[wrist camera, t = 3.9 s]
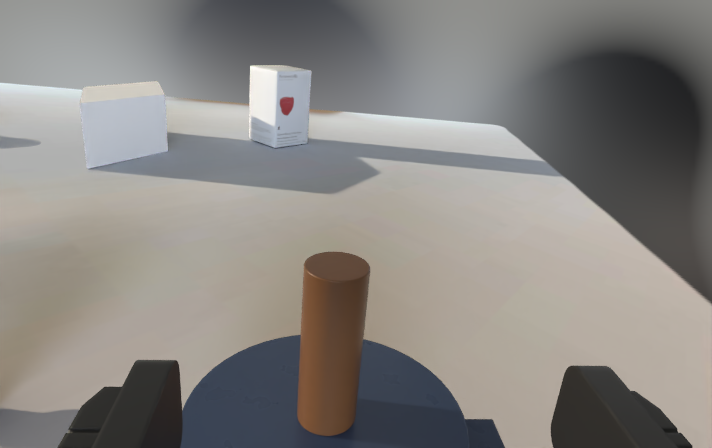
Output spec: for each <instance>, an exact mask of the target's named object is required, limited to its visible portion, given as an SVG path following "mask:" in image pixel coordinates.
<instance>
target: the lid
mask: <svg viewBox="0 0 712 448" xmlns="http://www.w3.org/2000/svg"><path fill="white" fill-rule="evenodd" d="M369 277H370V266H369V264H368V263H367V262H366V261H365V260H364V259H362V258H360V257H358V256H356V255H352V254H349V253H343V252H324V253H319V254H315V255H313V256H311V257H309V258H308V259H307V260H306V261H305V263H304V277H303V298H302V319H301V335H296V336H289V337H283V338H278V339H274V340H270V341H266V342H263V343H260V344H257V345H254V346H251V347H249V348H247V349H245V350H242V351H240V352H238V353H236V354H234V355H233V356H231V357H229V358H228V359H226V360H224V361H223V362H222V363H220V364H219V365H217V366H216V367H215V368H213V369H212V370H211V371H210V372H209V373H208V374H207V375H206V376H205V377H204V378H203V379H202V380H201V381H200V382H199V383H198V385H197V386H196V387H195V388H194V390H193V391H192V393H191V394H190V396H189V398H188V399H187V401H186V403H185V406H184V408H183V410H182V419H183V430H182V441H181V447H180V448H469V437H468V429H467V426H466V422H465V419H464V416H463V413H462V411H461V409H460V407H459V405H458V403H457V401H456V400H455V398H454V397H453V395H452V394H451V392H450V391H449V390H448V388H447V387H446V386H445V385H444V384H443V383H442V381H441V380H439V379H438V378H437V377H436V376H435V375H434V374H433V373H432V372H431V371H430V370H428V369H427V368H425V367H424V366H423V365H421V364H420V363H419V362H417V361H415V360H414V359H412V358H410V357H409V356H407V355H405V354H403V353H401V352H399V351H397V350H395V349H392V348H390V347H387V346H384V345H382V344H379V343H375V342H372V341H369V340H365V339H363V337H364V327H365V317H366V307H367V297H368V287H369Z"/></svg>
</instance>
